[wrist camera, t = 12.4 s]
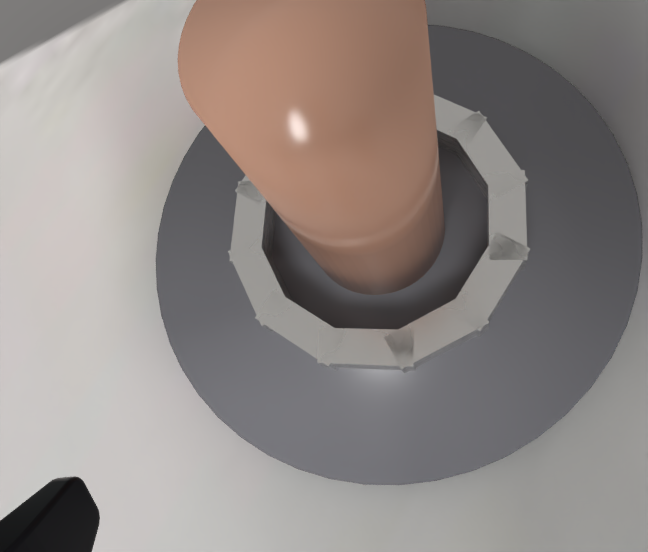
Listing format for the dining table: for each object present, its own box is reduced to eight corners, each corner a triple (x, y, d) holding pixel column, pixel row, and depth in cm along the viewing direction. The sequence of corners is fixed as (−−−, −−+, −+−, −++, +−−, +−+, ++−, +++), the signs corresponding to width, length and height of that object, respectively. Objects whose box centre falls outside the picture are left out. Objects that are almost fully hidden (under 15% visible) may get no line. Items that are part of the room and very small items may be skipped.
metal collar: (588, 280, 19) (596, 269, 18) (311, 425, 20) (302, 424, 19) (431, 57, 23) (430, 38, 22) (203, 188, 24) (190, 175, 23)
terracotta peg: (471, 204, 21) (478, -27, 11) (398, 320, 20) (330, 194, 10) (357, 148, 23) (268, -99, 12) (287, 253, 22) (132, 87, 12)
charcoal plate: (755, 327, 18) (768, 322, 18) (268, 575, 20) (261, 581, 19) (466, -35, 25) (467, -50, 24) (111, 171, 26) (101, 163, 25)
